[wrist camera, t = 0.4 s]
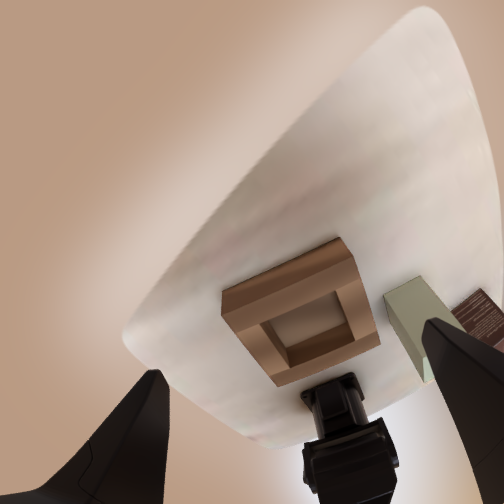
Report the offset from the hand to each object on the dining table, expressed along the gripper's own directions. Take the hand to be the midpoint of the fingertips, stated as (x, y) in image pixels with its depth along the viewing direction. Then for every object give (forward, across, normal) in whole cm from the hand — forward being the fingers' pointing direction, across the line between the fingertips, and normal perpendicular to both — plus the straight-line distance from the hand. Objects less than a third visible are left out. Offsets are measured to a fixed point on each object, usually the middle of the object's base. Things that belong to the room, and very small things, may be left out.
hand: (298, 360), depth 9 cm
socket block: (+14, -2, +9) cm, 16 cm away
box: (+14, -22, +16) cm, 30 cm away
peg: (+14, -12, +11) cm, 21 cm away
